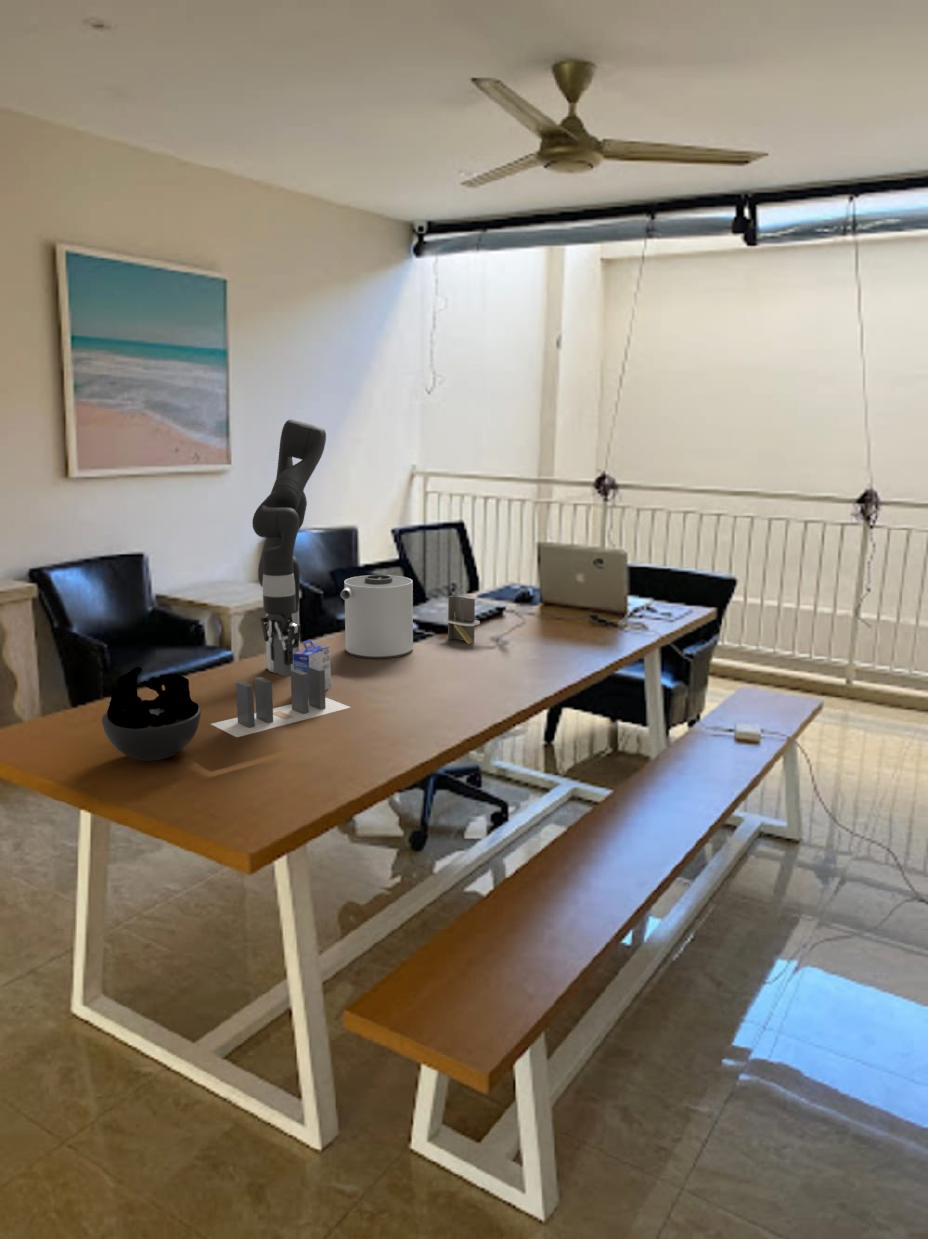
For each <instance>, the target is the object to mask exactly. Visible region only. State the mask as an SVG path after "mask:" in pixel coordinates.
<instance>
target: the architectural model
mask: <svg viewBox="0 0 928 1239" xmlns="http://www.w3.org/2000/svg"><path fill="white" fill-rule="evenodd" d="M447 600H448V602H447V605H448V606H447V607H448V609H447V615H448V617H445V618H443V620H442V622H444V623H447V630H448V631H447V640H451V639H452V640H453V639H456V640H460V641H465V642H466V644H469V645H470V644H472V643H475V626H477V625H480V624H481V621H480V620H477V619H475V617H476V616H475V614H476V613H475V609H476V606H475V605H476V598H470V597H465V596H456V595H451V596H448V599H447Z"/></svg>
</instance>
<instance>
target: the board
mask: <svg viewBox="0 0 928 1239" xmlns="http://www.w3.org/2000/svg"><path fill="white" fill-rule="evenodd" d="M325 705H326V708H325V709H321V710H320V709H317V708H315V707H312V706H310V705H309V699H308V706H309V713H306V714H302V713H299V712H297V711H295V710H292V703H291V704H287V705H283V706H278V707H273V722H271V723H266V722H264V721H261V720H259V719H257V718H256V712H254V719H255V727H251V728H248V727H245V726H243V725H241V724H239V723H238V716H236V717H233V718H229V719H224V720H221V721H217V722H213V723H210V725H211V726H213V727H215V728H217V729H219V730H221V731H223V732H225V733H227V734H229V735H231V736H233V737H235V738H239V737H244V736H247V735H251V734H255V733H259V732H263V731H266V730H270V729H274V728H277V727H278V728H279V727H282V726H285V725H289V724H293V723H294V724H295V723H298V722H301V721H305V720H308V719H309V720H310V719H313V718H316V717H320V716H324V715H327V714H333V713H335V712H339V711H343V710H346V709H351V706H348V705H346V704H343V703H341V702H340V701H339V702H338V701H336V700H333V699H330V698H328V697H326V696H325Z"/></svg>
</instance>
